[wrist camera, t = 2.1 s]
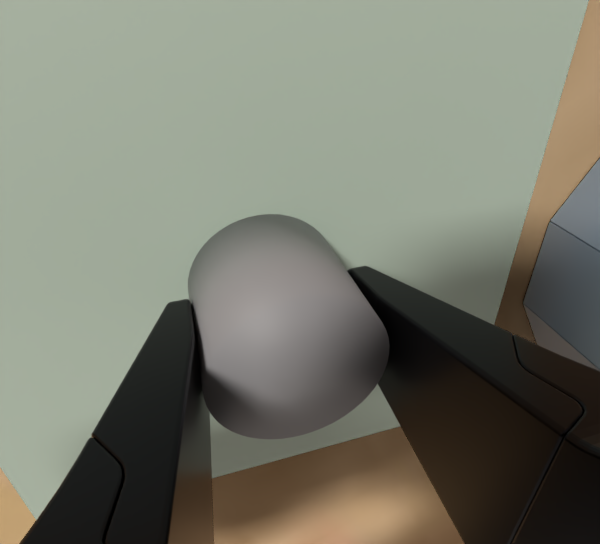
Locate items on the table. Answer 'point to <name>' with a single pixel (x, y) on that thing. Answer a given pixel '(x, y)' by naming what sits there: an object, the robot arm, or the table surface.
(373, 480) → the table surface
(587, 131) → the table surface
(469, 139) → the lid
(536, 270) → the bowl
